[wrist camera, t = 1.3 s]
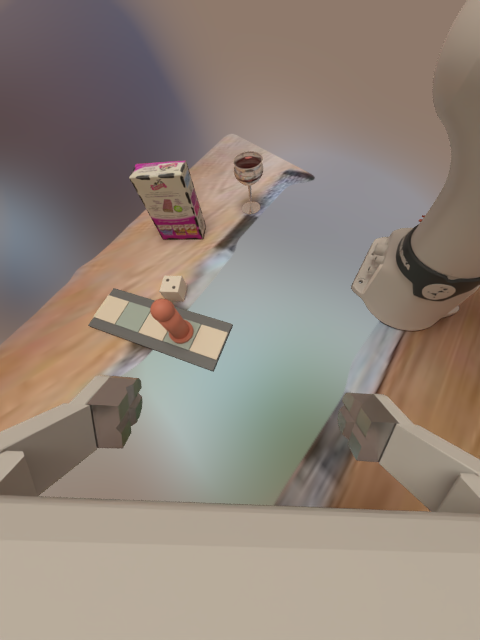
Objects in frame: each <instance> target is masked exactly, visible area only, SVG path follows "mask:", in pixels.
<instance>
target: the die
mask: <svg viewBox="0 0 480 640" xmlns="http://www.w3.org/2000/svg"><path fill="white" fill-rule="evenodd" d="M186 291H187V285H186V283H185V281H184V279H183V278H182V276H164V278H163V281H162V285H161V288H160V291H159V292H160V293H161V294H162V295H163V297H164V298H165V299H167V300H169V301H182V302H184V299H185V295H186Z"/></svg>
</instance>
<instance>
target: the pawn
mask: <svg viewBox="0 0 480 640" xmlns="http://www.w3.org/2000/svg"><path fill="white" fill-rule="evenodd" d="M150 312H151V315H152V317H153V318H154V319H155V320H157V321H158V322H159V323H160V324H161V325H162V326H163V327H164V328H165V329H166V330H167V331H168V332H169V337H170V338H171V339H172V340H173V341H174V342H175V343H178V344H183V343H186V342H188V341H189V340H190V339H191V338H192V336H193V333H194V329H193V326H192V325H191V324H190V322H188V321H187V320H184V319H183V318H182V317H181V315H180V314H179V313H178V311H177V310H176V309H175V307H174V305H173V304H172V303H171V302H170V301H169V300H167V299H158V300H156V301H154V302H153V303H152V305H151V308H150Z"/></svg>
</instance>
